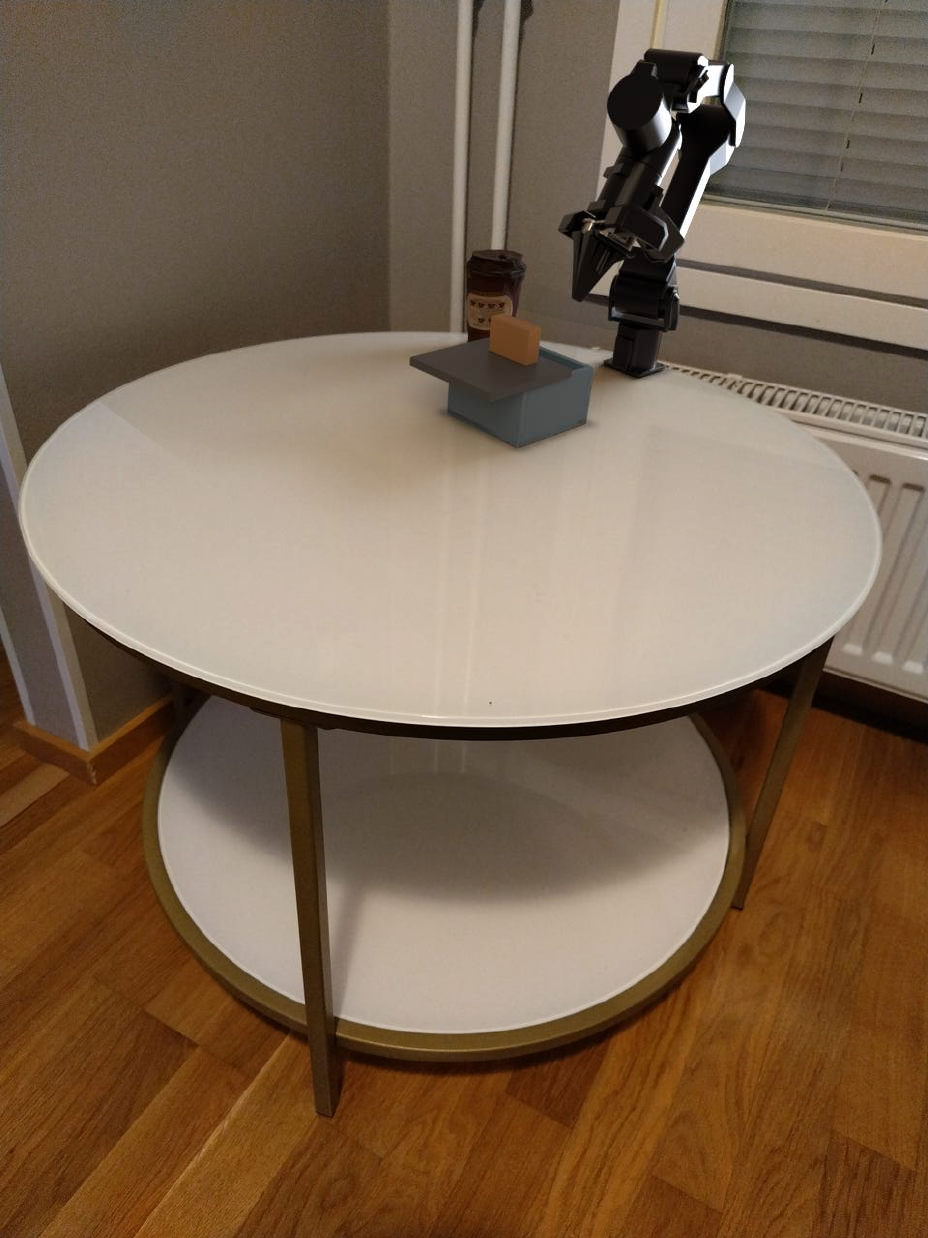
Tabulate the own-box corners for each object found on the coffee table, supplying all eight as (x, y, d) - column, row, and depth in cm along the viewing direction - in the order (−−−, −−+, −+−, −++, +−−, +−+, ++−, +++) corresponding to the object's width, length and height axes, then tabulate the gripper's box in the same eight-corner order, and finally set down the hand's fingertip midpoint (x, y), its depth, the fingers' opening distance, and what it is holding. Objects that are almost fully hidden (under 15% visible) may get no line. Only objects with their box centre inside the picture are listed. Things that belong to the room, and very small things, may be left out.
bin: (515, 392, 111) (520, 338, 107) (586, 423, 104) (594, 367, 100) (446, 413, 104) (449, 356, 100) (517, 448, 98) (523, 388, 93)
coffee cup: (513, 361, 120) (522, 264, 113) (455, 354, 121) (460, 257, 114) (522, 342, 127) (531, 249, 120) (467, 335, 128) (473, 242, 121)
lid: (491, 344, 105) (494, 302, 102) (571, 377, 97) (577, 332, 94) (409, 365, 97) (410, 320, 94) (489, 402, 90) (493, 355, 87)
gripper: (735, 199, 93) (665, 337, 97) (657, 209, 110) (600, 326, 113) (654, 144, 89) (584, 290, 92) (586, 163, 105) (529, 286, 109)
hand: (576, 300), depth 102 cm, fingers closed
